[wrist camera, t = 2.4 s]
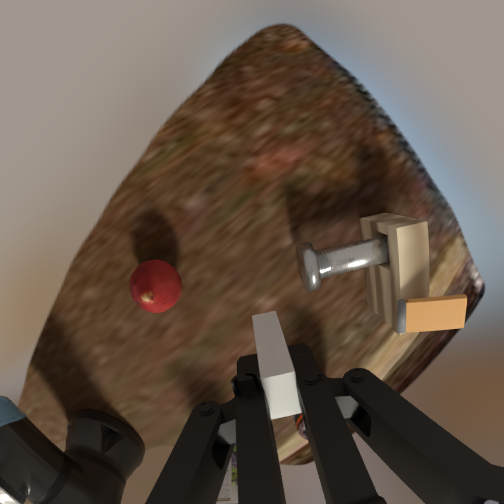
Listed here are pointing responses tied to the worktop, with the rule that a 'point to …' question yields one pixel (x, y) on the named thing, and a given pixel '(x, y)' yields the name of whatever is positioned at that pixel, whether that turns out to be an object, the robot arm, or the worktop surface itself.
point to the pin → (339, 259)
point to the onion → (155, 286)
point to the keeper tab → (431, 313)
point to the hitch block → (397, 264)
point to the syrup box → (230, 483)
